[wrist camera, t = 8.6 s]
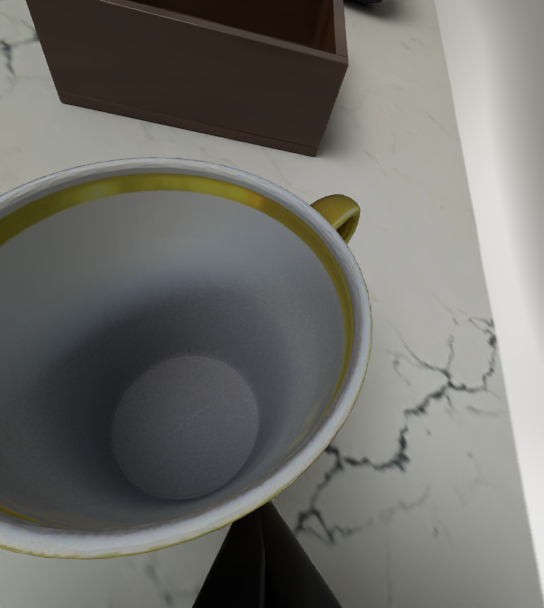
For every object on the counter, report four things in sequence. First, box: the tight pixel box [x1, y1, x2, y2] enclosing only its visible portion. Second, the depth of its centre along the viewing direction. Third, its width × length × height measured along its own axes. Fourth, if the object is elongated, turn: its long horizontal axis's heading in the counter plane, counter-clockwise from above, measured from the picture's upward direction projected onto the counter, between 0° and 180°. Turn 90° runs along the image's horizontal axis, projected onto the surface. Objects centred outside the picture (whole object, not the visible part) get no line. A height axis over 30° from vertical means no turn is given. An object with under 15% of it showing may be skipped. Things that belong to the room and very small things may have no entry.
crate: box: [26, 0, 348, 156], centre depth 26 cm, size 16×19×7 cm
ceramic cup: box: [0, 157, 372, 559], centre depth 12 cm, size 13×10×10 cm
